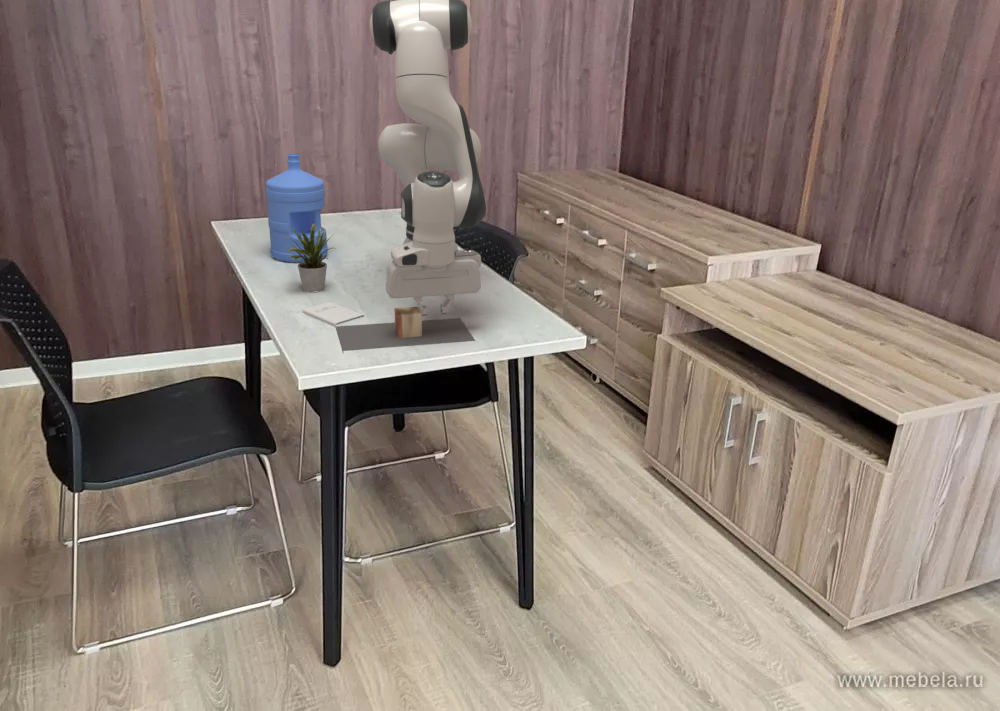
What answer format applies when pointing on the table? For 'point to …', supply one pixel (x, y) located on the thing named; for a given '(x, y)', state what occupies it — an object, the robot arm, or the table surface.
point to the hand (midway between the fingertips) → (433, 313)
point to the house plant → (311, 260)
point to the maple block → (408, 322)
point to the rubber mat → (387, 337)
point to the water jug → (294, 209)
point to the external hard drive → (331, 313)
